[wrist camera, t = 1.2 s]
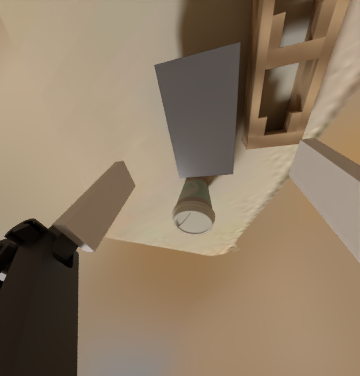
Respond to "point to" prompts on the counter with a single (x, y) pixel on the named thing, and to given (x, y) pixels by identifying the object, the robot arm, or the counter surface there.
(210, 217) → the coffee cup
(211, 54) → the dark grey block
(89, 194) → the robot arm
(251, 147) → the brown long open box
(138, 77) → the counter surface
